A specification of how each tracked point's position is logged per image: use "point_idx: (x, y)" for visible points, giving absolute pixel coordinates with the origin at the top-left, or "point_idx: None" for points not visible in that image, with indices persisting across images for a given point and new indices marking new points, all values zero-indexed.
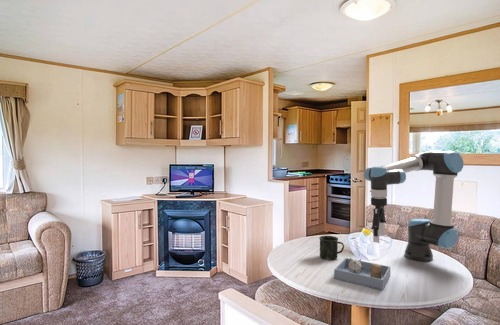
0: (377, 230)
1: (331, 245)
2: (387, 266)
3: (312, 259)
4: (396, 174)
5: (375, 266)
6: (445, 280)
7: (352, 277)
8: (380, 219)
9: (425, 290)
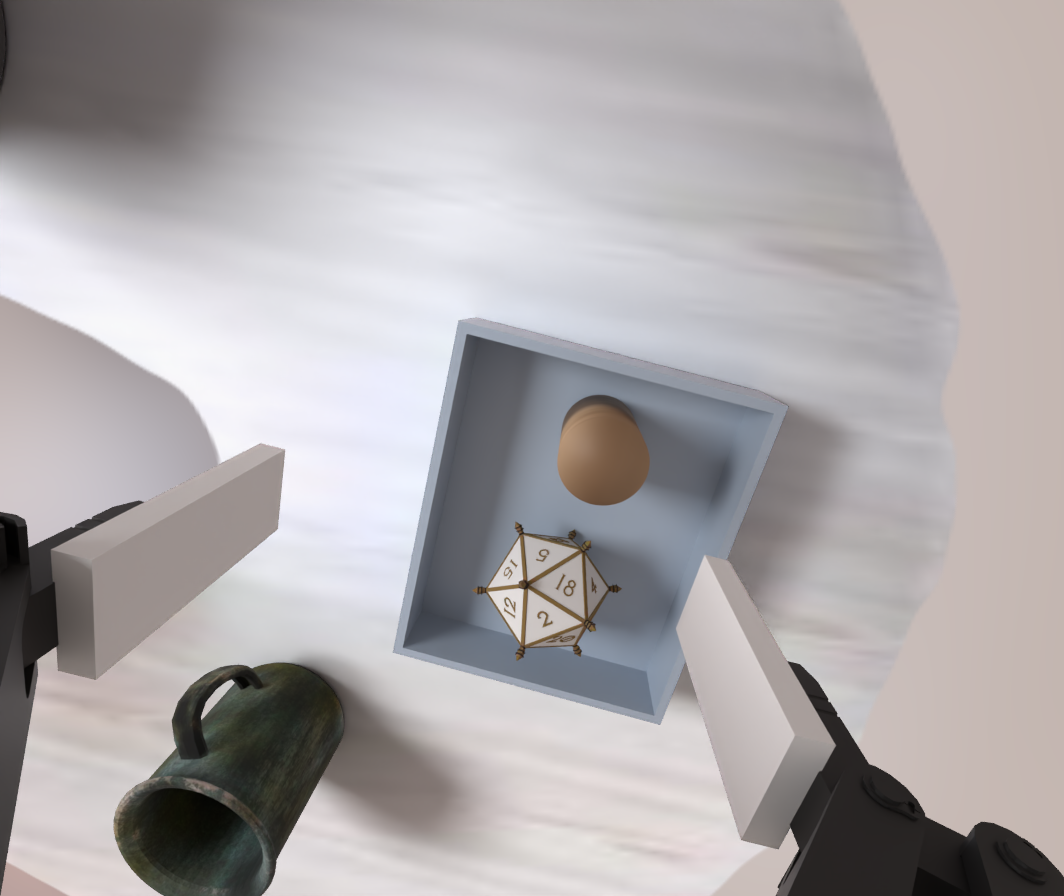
0: (823, 756)
1: (280, 789)
2: (463, 346)
3: (373, 792)
4: None
5: (622, 467)
6: None
7: None
8: (15, 731)
9: (677, 60)
